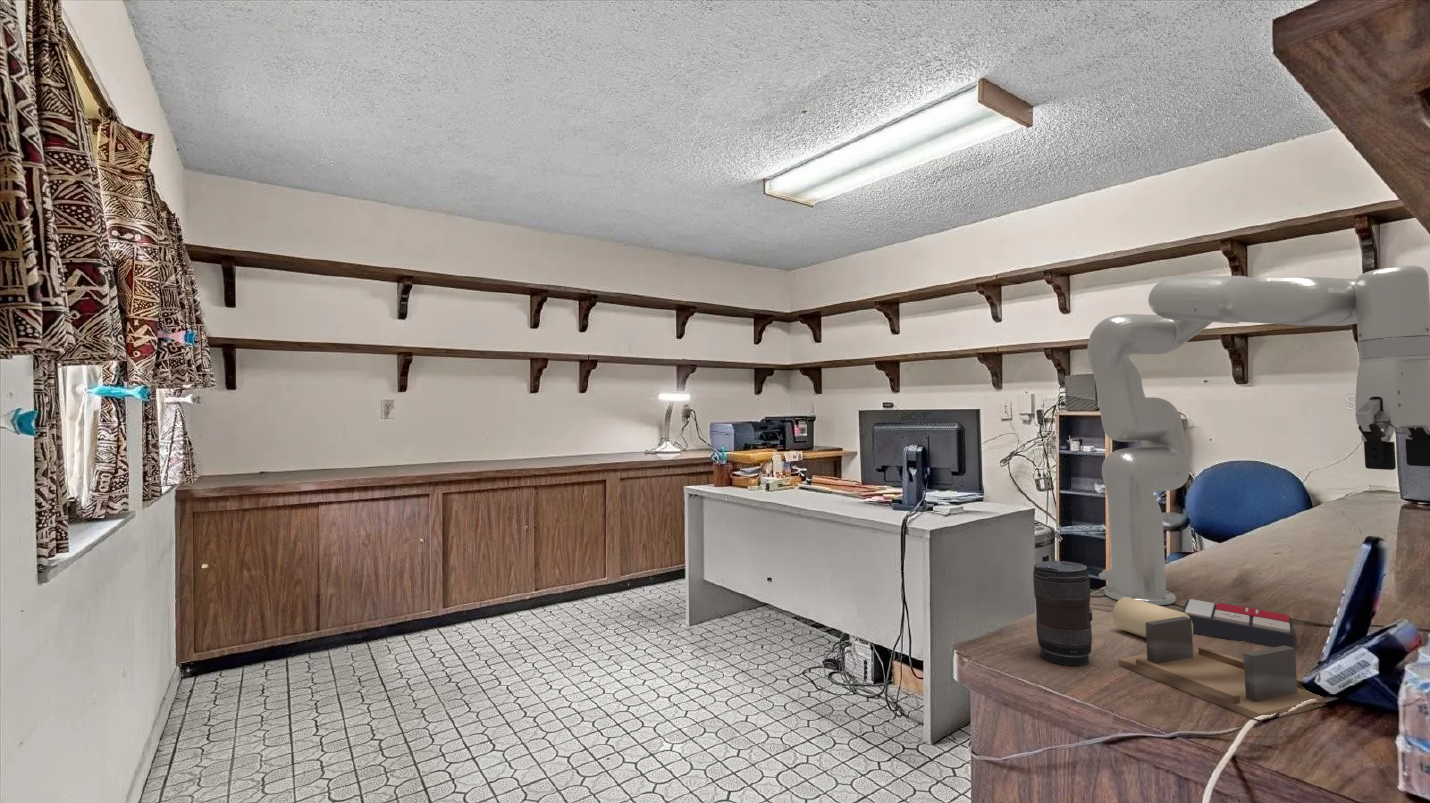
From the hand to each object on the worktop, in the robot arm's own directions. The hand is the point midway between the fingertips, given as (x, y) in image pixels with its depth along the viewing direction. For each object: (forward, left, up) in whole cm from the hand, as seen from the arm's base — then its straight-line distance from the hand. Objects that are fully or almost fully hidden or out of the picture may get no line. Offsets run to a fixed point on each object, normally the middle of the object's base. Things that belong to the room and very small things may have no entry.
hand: (1401, 467), depth 94 cm
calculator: (-22, -3, -31) cm, 38 cm away
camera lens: (-23, -40, -31) cm, 56 cm away
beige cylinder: (-25, -19, -28) cm, 42 cm away
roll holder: (-8, -28, -30) cm, 42 cm away
